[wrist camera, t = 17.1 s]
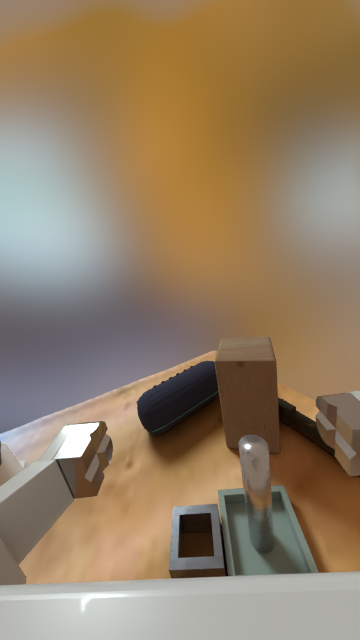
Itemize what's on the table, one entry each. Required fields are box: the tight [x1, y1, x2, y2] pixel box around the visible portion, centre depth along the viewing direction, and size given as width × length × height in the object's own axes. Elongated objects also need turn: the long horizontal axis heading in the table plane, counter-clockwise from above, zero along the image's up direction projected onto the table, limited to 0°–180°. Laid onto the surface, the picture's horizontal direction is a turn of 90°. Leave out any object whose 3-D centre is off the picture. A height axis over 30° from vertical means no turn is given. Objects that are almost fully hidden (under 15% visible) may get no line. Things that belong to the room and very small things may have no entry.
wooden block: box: [215, 337, 280, 454], centre depth 42 cm, size 10×10×20 cm
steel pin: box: [239, 434, 275, 554], centre depth 26 cm, size 3×3×16 cm
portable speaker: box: [137, 361, 219, 436], centre depth 54 cm, size 25×10×10 cm, turn 125°
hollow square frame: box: [169, 504, 227, 579], centre depth 28 cm, size 6×6×4 cm
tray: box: [218, 485, 319, 576], centre depth 28 cm, size 10×10×2 cm
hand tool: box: [278, 398, 360, 477], centre depth 41 cm, size 19×4×5 cm, turn 25°
